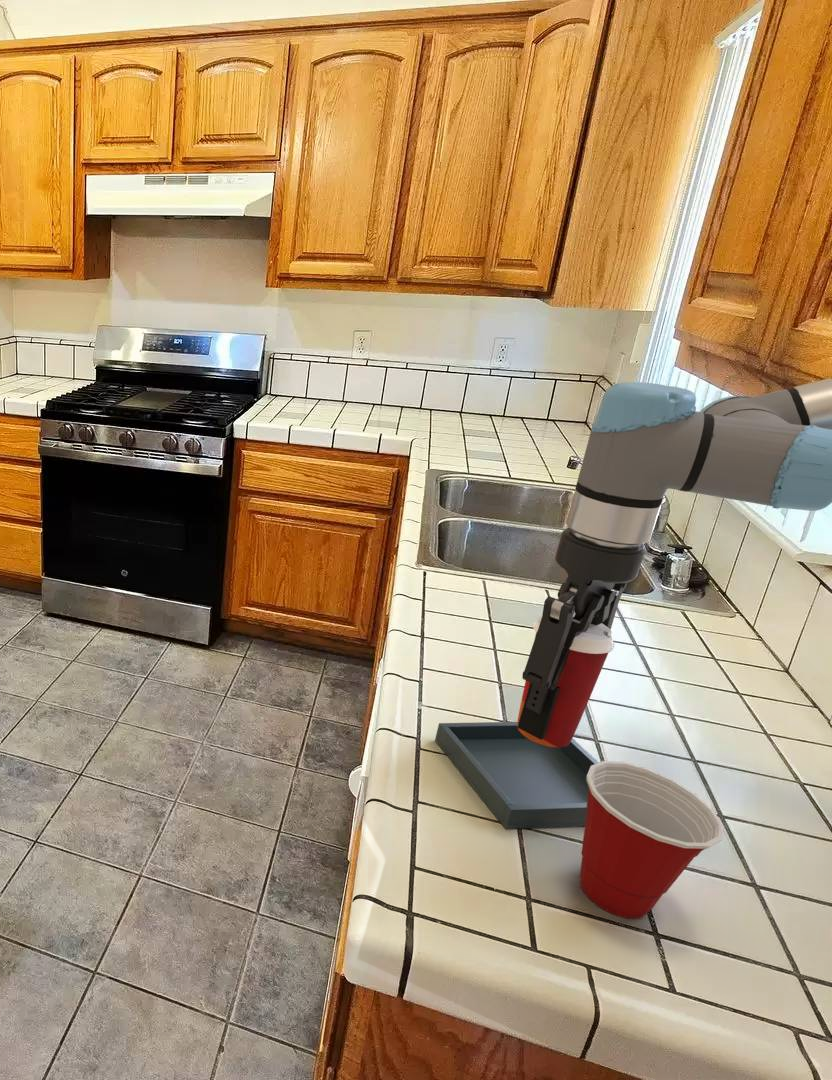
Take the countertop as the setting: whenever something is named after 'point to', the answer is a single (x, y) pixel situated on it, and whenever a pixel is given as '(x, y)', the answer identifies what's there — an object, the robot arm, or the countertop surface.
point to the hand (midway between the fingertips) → (546, 722)
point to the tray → (520, 774)
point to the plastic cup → (639, 836)
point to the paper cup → (574, 684)
